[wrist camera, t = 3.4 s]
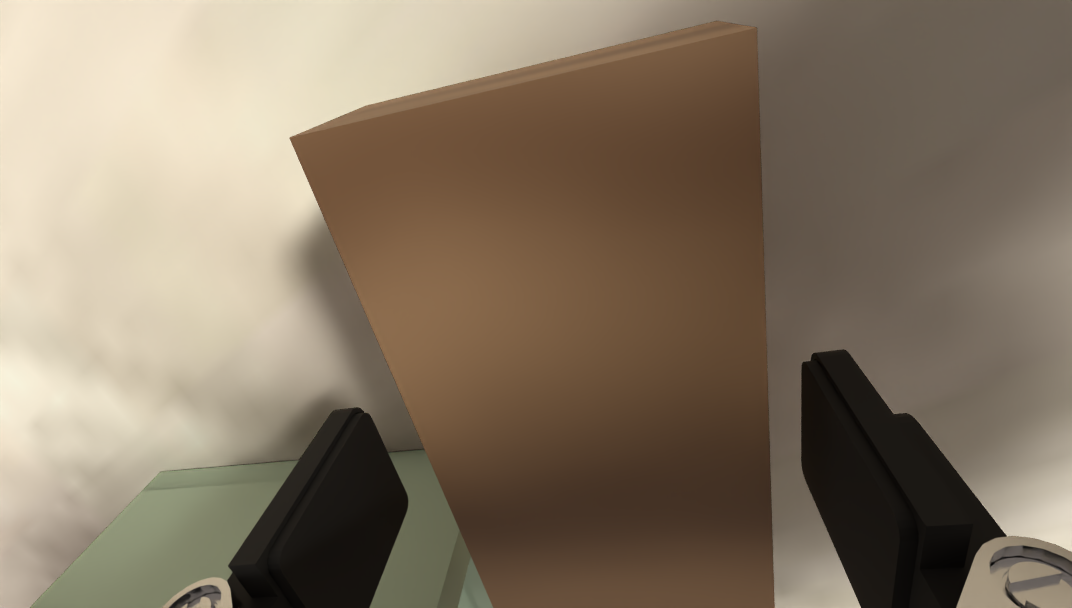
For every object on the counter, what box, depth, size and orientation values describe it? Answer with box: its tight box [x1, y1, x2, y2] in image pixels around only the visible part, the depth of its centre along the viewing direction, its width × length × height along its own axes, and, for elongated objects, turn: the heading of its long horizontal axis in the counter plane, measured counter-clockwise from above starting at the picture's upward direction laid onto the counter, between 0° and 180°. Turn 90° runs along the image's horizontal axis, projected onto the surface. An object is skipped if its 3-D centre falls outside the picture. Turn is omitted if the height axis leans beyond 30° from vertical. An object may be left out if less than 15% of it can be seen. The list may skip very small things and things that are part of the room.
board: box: [290, 21, 775, 608], centre depth 11 cm, size 14×6×3 cm, turn 13°
